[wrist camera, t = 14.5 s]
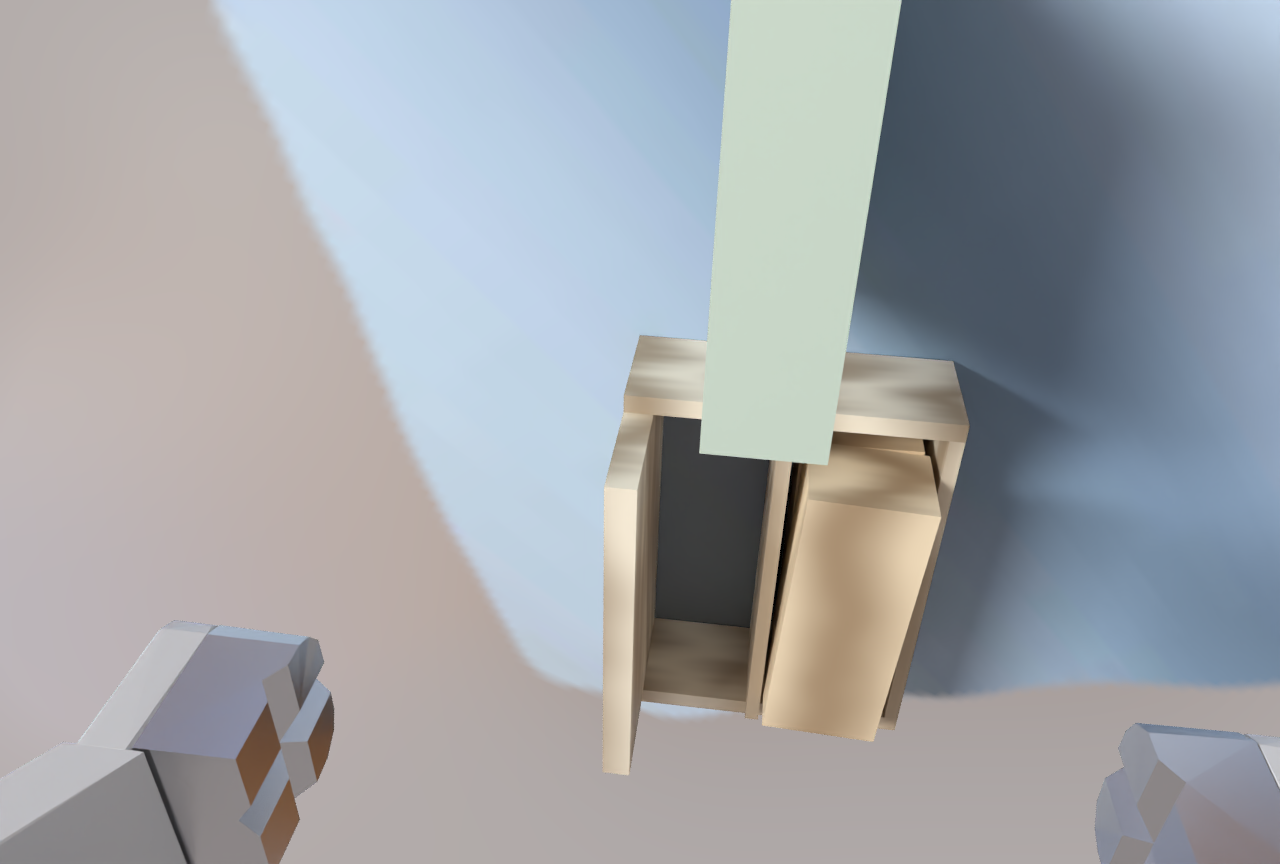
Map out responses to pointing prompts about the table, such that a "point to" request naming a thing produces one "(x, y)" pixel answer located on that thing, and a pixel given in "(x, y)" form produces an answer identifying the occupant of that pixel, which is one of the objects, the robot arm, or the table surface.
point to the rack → (735, 656)
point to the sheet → (791, 219)
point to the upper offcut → (848, 589)
